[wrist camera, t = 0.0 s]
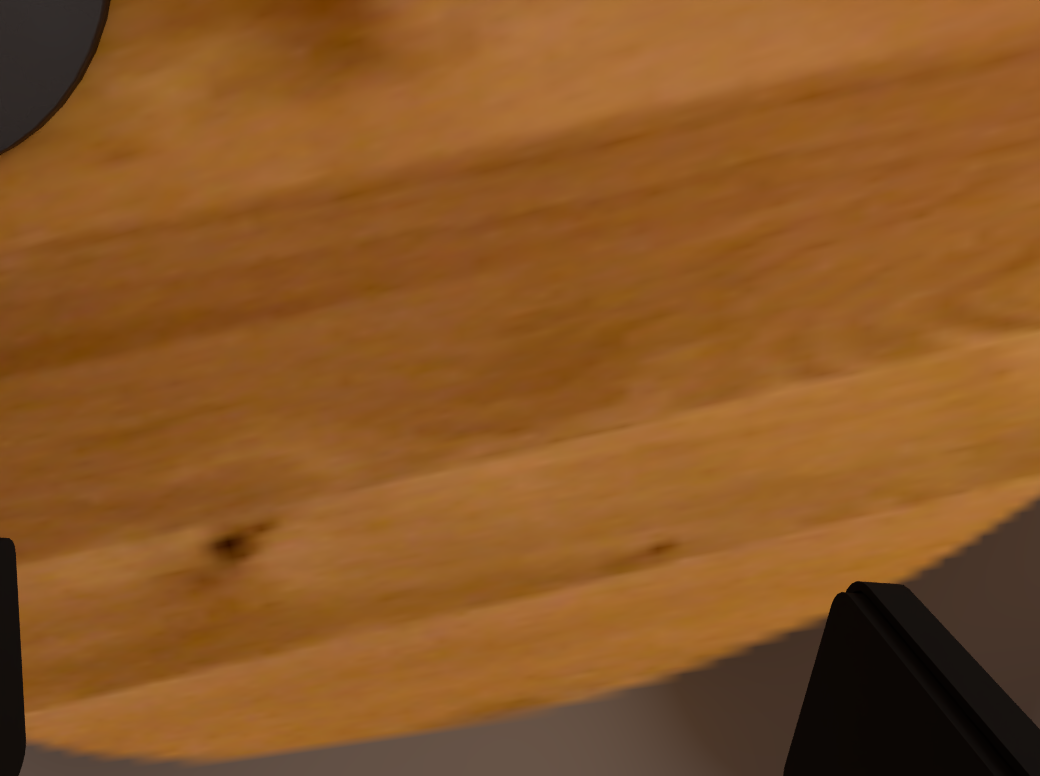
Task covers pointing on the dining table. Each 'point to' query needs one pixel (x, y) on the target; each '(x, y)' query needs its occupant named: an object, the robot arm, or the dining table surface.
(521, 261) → the dining table surface
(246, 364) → the dining table surface
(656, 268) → the dining table surface
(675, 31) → the dining table surface
